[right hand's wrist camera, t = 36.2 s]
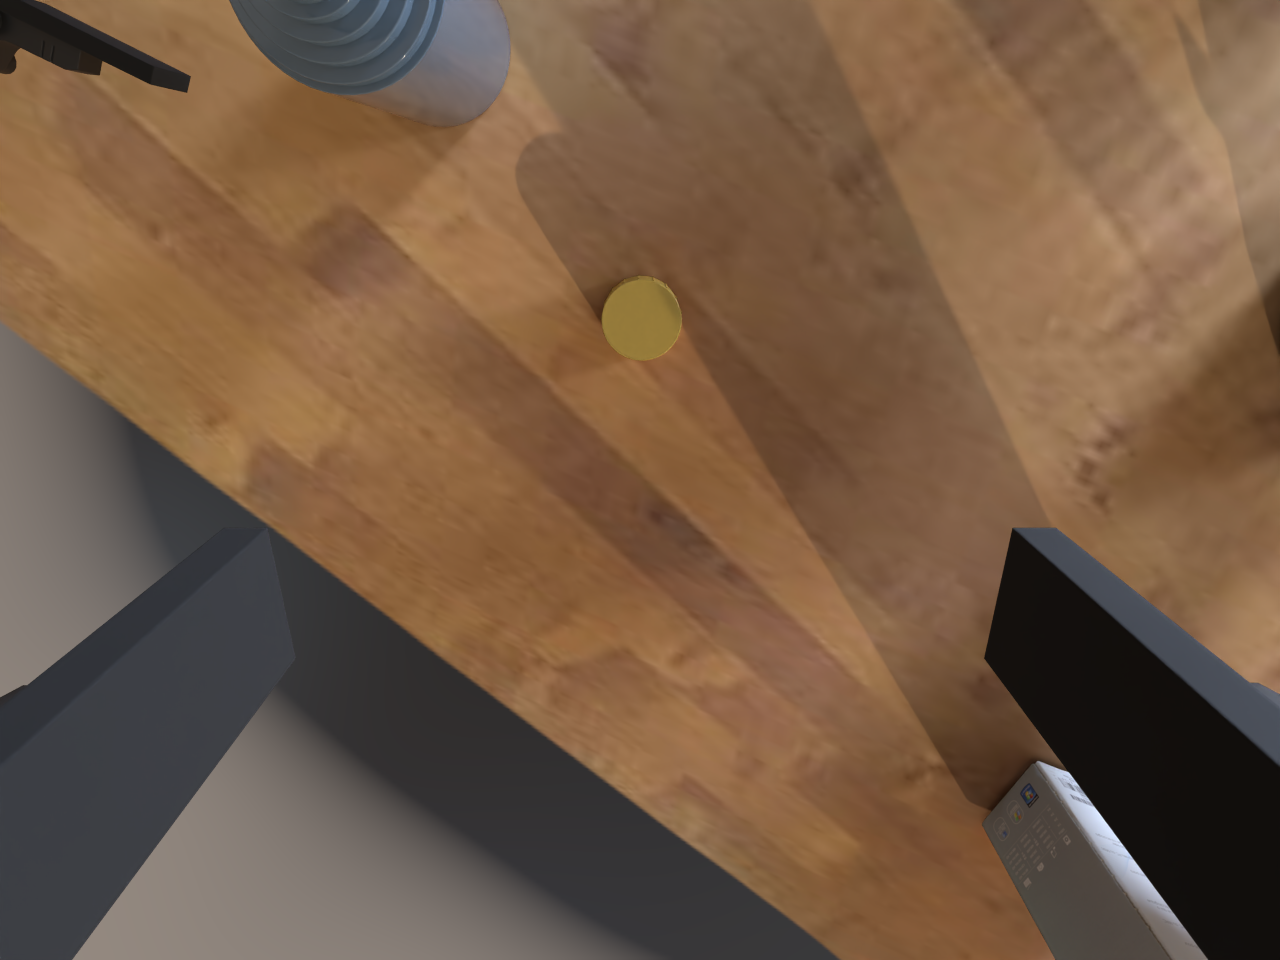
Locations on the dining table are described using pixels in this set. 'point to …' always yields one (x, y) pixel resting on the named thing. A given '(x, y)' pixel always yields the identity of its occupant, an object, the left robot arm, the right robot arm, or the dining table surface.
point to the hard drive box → (1080, 875)
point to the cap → (641, 318)
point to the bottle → (389, 52)
